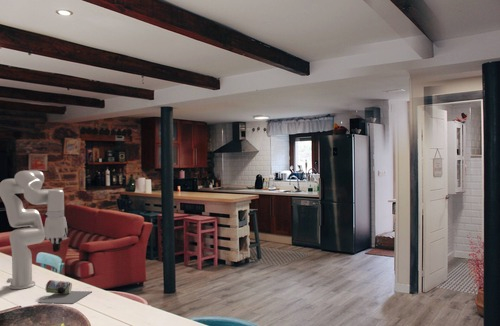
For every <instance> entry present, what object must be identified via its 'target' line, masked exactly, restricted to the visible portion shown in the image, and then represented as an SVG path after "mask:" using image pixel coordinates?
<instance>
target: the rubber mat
mask: <svg viewBox="0 0 500 326" xmlns="http://www.w3.org/2000/svg"><path fill="white" fill-rule="evenodd" d="M92 293H93V291H90V290H89V291H86V290H83V291H81V290H71V292H70V293H68V294H59V293H52V294H51V295H49V296H47V297H45V298H43V299H42V300H40V301H37V304H52V303H54V304H60V305H61V304H62V305H63V304H65V305H66V304H67V305H74V304H75V303H77V302H79V301H80V300H82V299H84V298H85V297H87V296H88V295H90V294H92Z"/></svg>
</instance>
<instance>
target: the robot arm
mask: <svg viewBox="0 0 500 326" xmlns="http://www.w3.org/2000/svg"><path fill="white" fill-rule="evenodd" d="M44 182H45V174H44V173H43V172H42V171H41V170H36V169H35V170H32V169H31V170H20V171H18V172H16V173H15V174H14V178H5V179H3V180H2V181H1V182H0V198H1V200H2V202H3V204H4V207H5V211H6V216H7V219H8V223H9V226H10V227H12V228H17V229H14V230H12V231H10V234H9V243H10V249H11V272H12V273H11V275H12V277H11V278H7V279H6V282H5V283H7V284H9V283H10V285H8V287H9V289H11V290H23V289H28V288H29V289H30V288H32V287H34V286H35V285H36V282H35V280H33V259H32V258H33V257H32V256H33V254H32V251H31V249H30V248H28V246H30V245H36V244H41V243H42V242H44V241H45V240H47V241H50V242H51V244H52V252H55V253H57V252H60V250H61V243H62V242H63V241H65V240H67V239H68V237H67V236H68V224H67V219H66V216H65V192H64V190H62V189H56V188H49V189H48V188H46V189H45V188H44V189H42V187H43V184H44ZM16 194H23V197H24V199H25V201H26V202H28V203H29V204H31V205H33V206H34V205H35V206H39V205H47V212H45V215H46V218H45V222H44V224H43V221H42V216H41V213H40V212H39V211H38V210H37V209H36V208H35V209H34V208H27V209H25V207H24V204H23V201H22V199H20V198H19V197H18V196H17V195H16ZM21 227H23V228H21Z"/></svg>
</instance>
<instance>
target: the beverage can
mask: <svg viewBox="0 0 500 326" xmlns="http://www.w3.org/2000/svg"><path fill="white" fill-rule="evenodd" d="M72 288H73V283H72V282H70V281H63V280H53V279H50V280H48V281H47V282H46V284H45V292H46V293H49V294H54V293H59V294H68V293H70V292H71V291H72Z"/></svg>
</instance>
